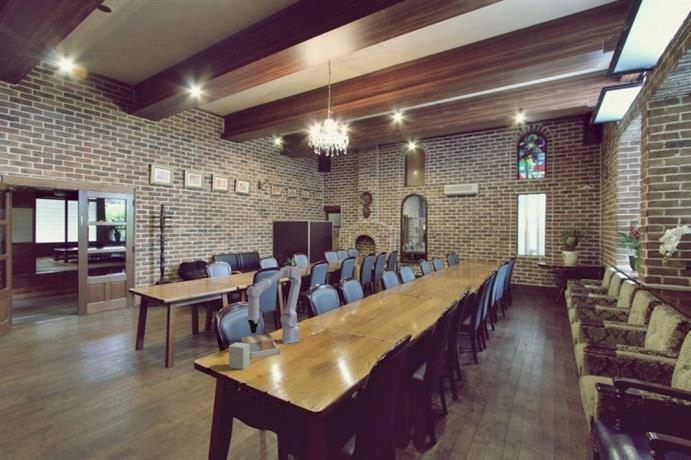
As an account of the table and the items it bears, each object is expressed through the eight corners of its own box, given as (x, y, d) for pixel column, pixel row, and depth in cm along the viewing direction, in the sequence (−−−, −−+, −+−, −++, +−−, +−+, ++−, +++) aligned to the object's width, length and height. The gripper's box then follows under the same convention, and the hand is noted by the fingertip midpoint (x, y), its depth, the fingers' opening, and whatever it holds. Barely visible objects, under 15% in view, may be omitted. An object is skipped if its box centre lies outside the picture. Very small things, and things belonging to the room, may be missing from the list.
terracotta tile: (270, 338, 183) (271, 340, 181) (270, 348, 183) (271, 349, 181) (261, 340, 181) (262, 341, 179) (261, 349, 181) (261, 350, 179)
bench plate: (268, 340, 197) (268, 333, 197) (274, 346, 187) (274, 339, 187) (240, 344, 190) (240, 337, 190) (244, 351, 179) (244, 343, 179)
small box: (249, 365, 161) (250, 343, 161) (243, 369, 156) (243, 347, 156) (235, 363, 164) (235, 341, 164) (228, 367, 158) (228, 345, 158)
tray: (273, 346, 186) (273, 341, 186) (279, 354, 176) (279, 348, 176) (245, 351, 179) (245, 345, 179) (249, 359, 168) (249, 353, 168)
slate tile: (257, 348, 182) (257, 343, 182) (259, 351, 178) (259, 346, 178) (248, 349, 180) (248, 345, 180) (250, 352, 176) (250, 348, 176)
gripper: (243, 306, 186) (243, 330, 186) (248, 312, 173) (248, 338, 173) (256, 305, 189) (256, 328, 189) (262, 310, 176) (262, 336, 176)
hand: (253, 333), depth 182 cm, fingers closed
